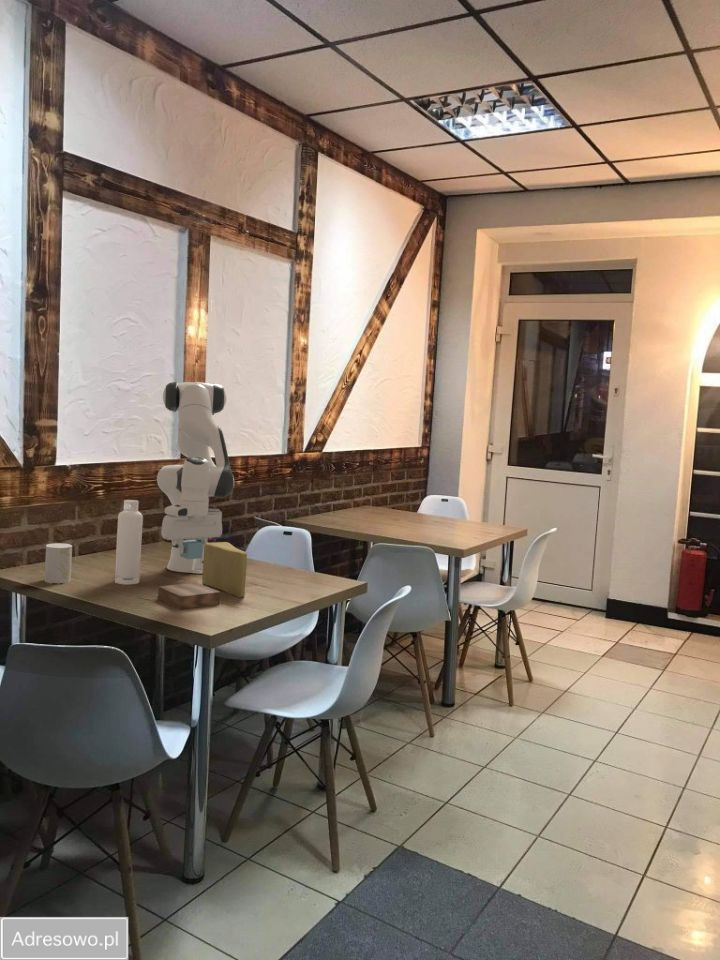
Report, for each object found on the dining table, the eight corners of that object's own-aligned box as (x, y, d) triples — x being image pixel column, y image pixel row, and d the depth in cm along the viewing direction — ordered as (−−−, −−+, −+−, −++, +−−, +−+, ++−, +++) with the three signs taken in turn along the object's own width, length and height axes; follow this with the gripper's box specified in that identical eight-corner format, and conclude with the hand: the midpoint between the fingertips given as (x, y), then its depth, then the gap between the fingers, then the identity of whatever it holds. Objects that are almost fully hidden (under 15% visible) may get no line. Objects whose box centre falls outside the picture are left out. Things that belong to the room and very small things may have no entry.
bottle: (144, 581, 274) (148, 501, 271) (128, 585, 266) (132, 503, 264) (125, 577, 277) (130, 498, 275) (109, 581, 270) (113, 500, 267)
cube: (193, 555, 254) (194, 539, 254) (202, 558, 251) (203, 542, 250) (180, 556, 251) (181, 540, 250) (188, 559, 247) (189, 543, 247)
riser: (196, 594, 262) (196, 582, 261) (219, 604, 252) (220, 591, 251) (157, 598, 252) (158, 586, 252) (180, 609, 242) (181, 596, 242)
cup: (61, 584, 261) (63, 548, 260) (39, 581, 262) (40, 546, 261) (75, 580, 269) (76, 545, 268) (53, 577, 270) (55, 542, 269)
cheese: (255, 596, 265) (258, 552, 264) (229, 599, 260) (232, 554, 258) (226, 582, 283) (228, 540, 282) (200, 583, 277) (203, 541, 276)
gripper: (216, 506, 259) (214, 548, 260) (160, 508, 245) (157, 552, 246) (227, 509, 254) (224, 551, 255) (170, 511, 240) (167, 556, 241)
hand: (191, 552), depth 251 cm, fingers closed on cube, 5 cm apart
